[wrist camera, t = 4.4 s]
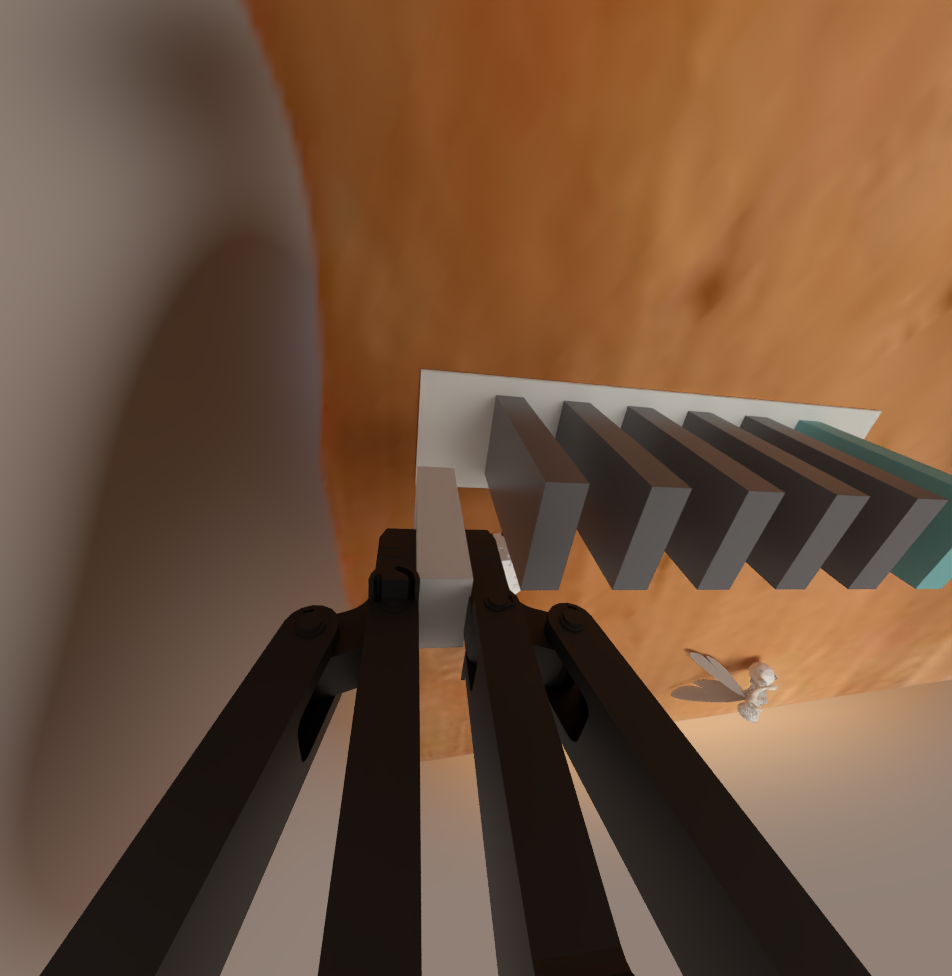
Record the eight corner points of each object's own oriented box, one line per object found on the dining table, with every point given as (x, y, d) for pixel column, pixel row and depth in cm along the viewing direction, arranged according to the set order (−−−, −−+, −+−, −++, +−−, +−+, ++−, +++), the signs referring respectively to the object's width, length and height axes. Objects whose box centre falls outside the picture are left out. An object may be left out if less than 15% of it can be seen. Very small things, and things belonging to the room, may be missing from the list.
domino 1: (496, 395, 22) (545, 482, 14) (523, 397, 22) (589, 483, 14) (484, 474, 25) (520, 590, 16) (509, 475, 25) (558, 590, 16)
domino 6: (799, 419, 26) (992, 502, 17) (819, 421, 26) (1020, 503, 17) (762, 487, 28) (915, 588, 19) (781, 488, 28) (941, 588, 20)
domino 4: (688, 410, 24) (837, 495, 16) (711, 412, 24) (870, 496, 16) (659, 482, 27) (775, 589, 18) (681, 483, 27) (805, 589, 18)
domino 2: (563, 400, 23) (652, 486, 14) (589, 402, 23) (692, 488, 14) (546, 477, 25) (612, 590, 17) (569, 478, 25) (647, 589, 17)
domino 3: (627, 406, 23) (749, 490, 15) (652, 407, 24) (785, 492, 15) (604, 479, 26) (697, 589, 17) (626, 480, 26) (729, 589, 18)
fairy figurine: (765, 691, 40) (749, 746, 35) (692, 650, 44) (670, 695, 39) (791, 651, 37) (777, 707, 32) (710, 612, 41) (688, 656, 36)
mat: (421, 368, 21) (421, 370, 21) (877, 410, 26) (881, 411, 26) (415, 482, 25) (415, 485, 24) (820, 499, 30) (823, 502, 29)
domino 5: (745, 415, 25) (918, 498, 16) (767, 417, 25) (948, 499, 17) (712, 484, 27) (848, 589, 19) (732, 485, 28) (875, 588, 19)
